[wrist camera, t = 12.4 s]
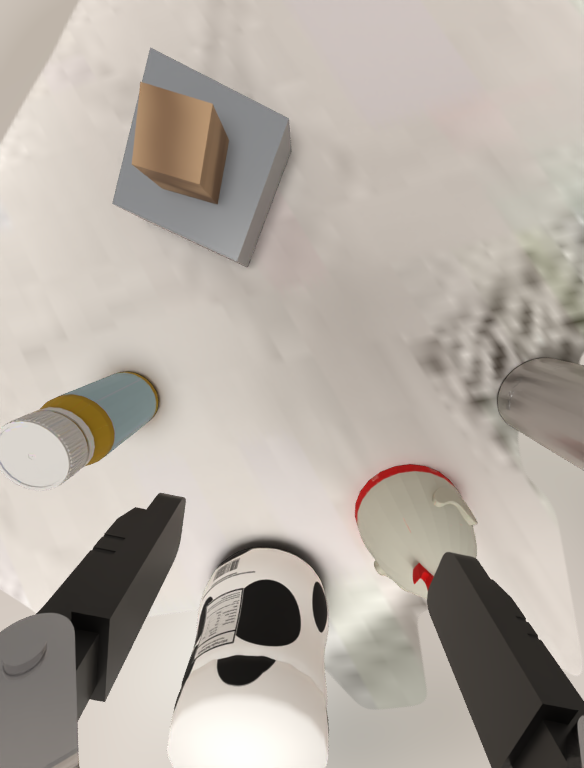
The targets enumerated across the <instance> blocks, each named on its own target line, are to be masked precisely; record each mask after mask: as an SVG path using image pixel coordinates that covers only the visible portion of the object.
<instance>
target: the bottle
mask: <svg viewBox="0 0 584 768" xmlns="http://www.w3.org/2000/svg"><path fill="white" fill-rule="evenodd" d="M157 409H158V397H157V393H156V391H155V389H154V387H153V386H152V384H151V383H150V382H149V381H148V380H147V379H146V378H144V377H142V376H141V375H139V374H136V373H132V372H119V373H116V374H113V375H111V376H108V377H106V378H103V379H101V380H98V381H96V382H93V383H91V384H88V385H86V386H83V387H81V388H78V389H76V390H73V391H71V392H68V393H66V394H63V395H61V396H58V397H56V398H54V399H52V400H50V401H48V402H46V403H45V404H44V405H43V406H42V407H41V409H40V410H37V411H35V412H33V413H30V414H27V415H25V416H23V417H20V418H18V419H16V420H13V421H11V422H9V423H7V424H5V425H4V426H2V427H1V428H0V471H1V472H2V473H3V474H4V475H5V476H6V477H7V478H8V479H9V480H11V481H12V482H13V483H15V484H17V485H19V486H21V487H23V488H26V489H30V490H35V491H45V490H50V489H53V488H55V487H57V486H59V485H61V484H62V483H64V482H65V481H66V480H68V479H69V478H70V477H72V476H73V475H74V474H75V473H77V472H78V471H79V470H80V469H81V468H83V467H84V466H87V465H91V464H93V463H95V462H98V461H99V460H101V459H102V458H104V457H105V456H106V455H107V454H109V453H110V452H111V451H112V450H114V449H115V448H116V447H117V446H119V445H120V444H121V443H122V442H124V441H125V440H126V439H127V438H129V437H130V436H131V435H132V434H134V433H135V432H136V431H137V430H139V429H140V428H141V427H142V426H144V425H145V424H146V423H147V422H148V421H150V420H151V419H152V418H153V417H154V415H155V414H156V411H157Z"/></svg>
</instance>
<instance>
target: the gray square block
mask: <svg viewBox="0 0 584 768" xmlns="http://www.w3.org/2000/svg"><path fill="white" fill-rule="evenodd" d="M142 82H143V83H146V84H150V85H153V86H156V87H160V88H163V89H166V90H169V91H173V92H176V93H179V94H182V95H186V96H189V97H192V98H196V99H199V100H202V101H205V102H209V103H212V104H213V106H214V108H215V110H216V112H217V114H218V117H219V119H220V121H221V123H222V126H223V128H224V130H225V132H226V134H227V137H228V139H229V144H228V150H227V155H226V161H225V166H224V172H223V178H222V183H221V189H220V194H219V200H218V205H217V204H213V203H210V202H206V201H203V200H199V199H196V198H193V197H189V196H186V195H182V194H179V193H175V192H172V191H169V190H165V189H162V188H161V187H159V186H158V185H157V184H156V183H154V182H153V181H152V180H151V179H149V178H148V177H147V176H146V175H144V174H143V173H142V172H141V171H139V170H138V169H137V168H136V167H134V166H133V165H132V157H133V147H134V138H135V129H136V119H137V110H138V101H139V96H138V100H137V104H136V108H135V113H134V117H133V121H132V125H131V129H130V133H129V137H128V141H127V145H126V150H125V154H124V158H123V162H122V166H121V170H120V174H119V178H118V182H117V186H116V191H115V195H114V199H113V203H112V204H114V205H116V206H118V207H120V208H122V209H124V210H126V211H128V212H130V213H132V214H134V215H136V216H138V217H140V218H142V219H144V220H146V221H148V222H151V223H153V224H155V225H157V226H159V227H161V228H164V229H166V230H168V231H170V232H172V233H174V234H176V235H179V236H181V237H183V238H185V239H187V240H189V241H192V242H194V243H196V244H198V245H200V246H202V247H205V248H207V249H209V250H211V251H213V252H215V253H218V254H220V255H222V256H224V257H226V258H228V259H230V260H233V261H235V262H237V263H239V264H241V265H243V266H246V267H248V264H249V262H250V259H251V257H252V254H253V251H254V249H255V246H256V243H257V241H258V238H259V235H260V233H261V230H262V227H263V225H264V222H265V219H266V217H267V214H268V211H269V209H270V206H271V203H272V201H273V198H274V195H275V193H276V190H277V187H278V185H279V182H280V179H281V177H282V174H283V171H284V169H285V166H286V163H287V161H288V158H289V155H290V153H291V140H290V127H289V118H287V117H285V116H283V115H281V114H279V113H277V112H275V111H273V110H271V109H269V108H267V107H265V106H263V105H262V104H260V103H258V102H256V101H254V100H252V99H250V98H248V97H246V96H244V95H242V94H240V93H238V92H236V91H234V90H232V89H230V88H228V87H226V86H224V85H223V84H221V83H219V82H217V81H215V80H213V79H211V78H209V77H207V76H205V75H203V74H201V73H199V72H197V71H195V70H193V69H191V68H189V67H187V66H185V65H183V64H182V63H180V62H178V61H176V60H174V59H172V58H170V57H168V56H166V55H164V54H162V53H160V52H158V51H156V50H154V49H152V48H150V51H149V55H148V59H147V63H146V67H145V72H144V76H143V80H142Z"/></svg>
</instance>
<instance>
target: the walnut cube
mask: <svg viewBox="0 0 584 768" xmlns="http://www.w3.org/2000/svg"><path fill="white" fill-rule="evenodd" d="M228 144H229V139H228V137H227V134H226V132H225V130H224V128H223V126H222V123H221V121H220V119H219V117H218V114H217V112H216V110H215V108H214V106H213V104H212V103H209V102H205V101H202V100H199V99H196V98H192V97H189V96H186V95H182V94H179V93H176V92H173V91H169V90H166V89H163V88H160V87H156V86H153V85H150V84H146V83H143V82H140V92H139V101H138V110H137V119H136V129H135V138H134V147H133V157H132V165H133V166H134V167H136V168H137V169H138V170H139V171H141V172H142V173H143V174H144V175H146V176H147V177H148V178H149V179H151V180H152V181H153V182H154V183H156V184H157V185H158V186H159V187H161V188H162V189H165V190H169V191H172V192H175V193H179V194H182V195H186V196H189V197H193V198H196V199H199V200H203V201H206V202H210V203H213V204H217V205H218V200H219V194H220V189H221V183H222V178H223V172H224V166H225V161H226V155H227V150H228Z"/></svg>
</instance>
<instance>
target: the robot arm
mask: <svg viewBox="0 0 584 768" xmlns="http://www.w3.org/2000/svg"><path fill="white" fill-rule="evenodd" d="M498 408H499V412H500V414H501V416H502V418H503V419H504V420H505V422H506V423H508V424H509V425H510V426H512V427H513V428H515V429H516V430H518V431H520V432H521V433H523V434H525V435H526V436H528V437H530V438H531V439H533V440H534V441H536V442H537V443H539V444H541V445H542V446H544V447H546V448H547V449H549V450H551V451H552V452H554V453H556V454H557V455H559V456H561V457H562V458H564V459H565V460H567V461H569V462H570V463H572V464H574V465H576V466H577V467H579V468H580V469H582V470H584V365H580V364H575V363H571V362H567V361H562V360H558V359H553V358H539V359H533V360H531V361H528V362H525V363H524V364H522V365H520V366H519V367H517V368H516V369H515V370H513V371H512V372H511V373H510V374H509V375H508V377H507V378H506V379H505V380H504V382H503V384H502V386H501V388H500V391H499V394H498ZM185 503H186V499H185V498H184V497H179V496H174V495H169V494H164V493H159V494H158V495H157V496H156V498H155V499H154V500H153V502H152V503H151V504H150V506H149V507H148V508H147V510H146V509H141V508H136V507H135V508H134V509H132V510H130V511H129V512H127V513H126V514H124V515H122V516H121V517H119V518H118V519H117V520H116V521H115V522H114V523H113V525H112V526H111V527H110V528H109V529H108V530H107V532H106V533H105V535H104V537H102V538H101V539H100V540H99V541H98V542H97V544H96V545H95V546H94V548H93V550H92V551H90V552H89V553H88V554H87V555H86V557H85V558H84V559H83V560H82V561H81V562H80V564H79V565H78V566H77V567H76V568H75V570H74V571H73V572H72V573H71V574H70V576H69V577H68V578H67V579H66V580H65V581H64V583H63V584H62V585H61V586H60V587H59V589H58V590H57V591H56V592H55V593H54V595H53V596H52V597H51V598H50V599H49V600H48V602H47V603H46V604H45V605H44V606H43V607H42V608H41V610H40V611H39V612H38V613H36V614H35V615H32V616H29V617H26V618H24V619H22V620H19V621H17V622H15V623H14V624H12V625H10V626H9V627H7V628H6V629H4V630H3V631H1V632H0V768H79V756H78V724H77V722H78V720H79V718H80V716H81V714H82V712H83V710H84V709H85V707H86V705H87V703H88V701H89V699H92V700H97V701H103V702H105V701H106V699H107V696H108V694H109V692H110V690H111V688H112V686H113V684H114V682H115V680H116V678H117V676H118V674H119V672H120V670H121V668H122V666H123V664H124V662H125V660H126V658H127V656H128V654H129V651H130V650H131V648H132V645H133V643H134V641H135V639H136V637H137V635H138V633H139V631H140V629H141V627H142V625H143V623H144V621H145V619H146V617H147V615H148V613H149V611H150V609H151V607H152V605H153V603H154V601H155V599H156V597H157V595H158V593H159V590H160V588H161V586H162V584H163V582H164V580H165V578H166V576H167V574H168V572H169V570H170V568H171V566H172V564H173V562H174V560H175V557H176V554H177V551H178V548H179V544H180V540H181V533H182V526H183V518H184V511H185ZM427 604H428V610H429V613H430V616H431V619H432V621H433V623H434V626H435V628H436V631H437V633H438V636H439V638H440V641H441V643H442V646H443V648H444V651H445V653H446V656H447V658H448V661H449V663H450V666H451V668H452V671H453V673H454V675H455V678H456V680H457V683H458V685H459V688H460V690H461V692H462V695H463V698H464V700H465V703H466V705H467V708H468V710H469V713H470V715H471V717H472V720H473V722H474V725H475V727H476V730H477V732H478V735H479V737H480V740H481V742H482V745H483V747H484V750H485V752H486V755H487V757H488V760H489V762H490V764H491V767H492V768H584V701H583V700H582V698H581V697H580V695H579V694H578V692H577V691H576V689H575V688H574V687H573V685H572V684H571V682H570V681H569V679H568V678H567V677H566V675H565V674H564V672H563V671H562V669H561V668H560V666H559V665H558V664H557V662H556V661H555V659H554V658H553V656H552V655H551V654H550V652H549V651H548V649H547V648H546V646H545V645H544V644H543V642H542V641H541V640H539V639H538V635H537V634H536V632H535V631H534V629H533V628H532V626H531V625H530V624H529V622H526V618H525V616H524V615H523V614H522V612H521V611H520V609H519V608H518V606H517V605H516V604H515V602H514V601H513V599H512V598H511V597H510V596H509V595H508V594H507V593H506V592H505V591H504V590H503V589H502V588H501V587H500V586H499V585H498V584H497V583H496V582H495V581H494V580H491V579H490V578H489V576H488V575H487V573H486V572H485V570H484V569H483V567H482V566H481V564H480V563H479V561H478V560H477V559H476V558H474V557H472V556H467V555H462V554H457V553H452V552H446V553H445V554H444V555H443V557H442V559H441V561H440V563H439V566H438V568H437V570H436V573H435V575H434V577H433V580H432V582H431V584H430V586H429V589H428V594H427Z"/></svg>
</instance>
